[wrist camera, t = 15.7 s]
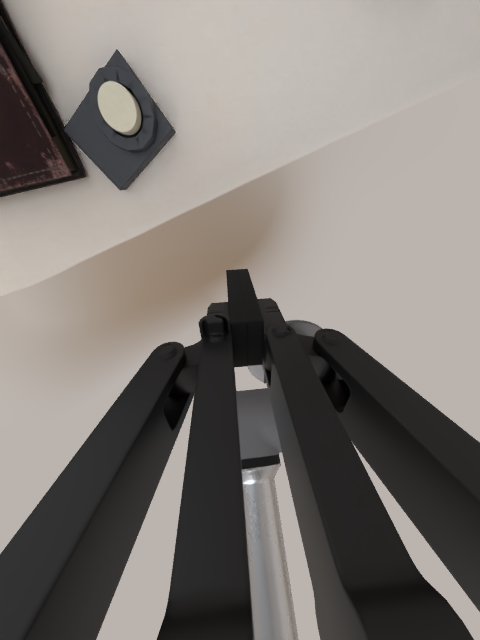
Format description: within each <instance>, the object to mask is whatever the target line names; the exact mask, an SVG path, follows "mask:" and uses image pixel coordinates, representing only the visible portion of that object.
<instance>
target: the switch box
mask: <svg viewBox="0 0 480 640" xmlns="http://www.w3.org/2000/svg"><path fill="white" fill-rule="evenodd" d="M108 81H114V82H117V83H119V84H121V85H122V86H123V87H125V88H126V89H127V90H128V91H129V93H130V94H131V95H132V96H133V97H134V98H135V100H136V101H137V103H138V105H139V108H140V111H141V118H142V120H141V126H140V128H139V130H138V131H137V132H136V133H135V134H133V135H125V134H122V133H120V132H118V131H117V130H115V129H113V128H112V127H111V126H110V125H109V124H108V123H107V122H106V121H105V119H104V118H103V116H102V114H101V112H100V109H99V105H98V91H99V89H100V87H101V86H102V84H104V83H105V82H108ZM64 131H65V132H66V133H67V135H68V136H69V137H70V138H71V139H72V140H73V141H74V142H75V143H76V144H77V145H78V146H79V147H80V148H81V149H82V150H83V151H84V153H85V154H86V155H87V156H88V157H89V158H90V159H91V160H92V161H93V162H94V163H95V164H96V165H97V166H98V167H99V168H100V169H101V171H102V172H103V173H104V174H105V175H106V176H107V177H108V178H109V179H110V180H111V181H112V182H113V183H114V184H115V185H116V186H117V187H118V189H119V190H126V189H127V188H128V187H129V186H130V185H131V183H132V182H133V181H134V180H135V179H136V178H137V176H138V175H139V174H140V173H141V172H142V171H143V170H144V168H145V167H146V166H147V165H148V164H149V163H150V161H151V160H152V159H153V158H154V157H155V156H156V154H157V153H158V152H159V151H160V150H161V149H162V148H163V146H164V145H165V144H166V143H167V142H168V141H169V139H170V138H171V137H172V136H173V135H174V134H175V130H174V129H173V128H172V126H171V125H170V123H169V122H168V120H167V119H166V118H165V116H164V115H163V113H162V112H161V110H160V109H159V108H158V106H157V105H156V103H155V102H154V100H153V99H152V98H151V96H150V95H149V93H148V92H147V90H146V89H145V88H144V86H143V85H142V83H141V82H140V80H139V79H138V78H137V76H136V75H135V73H134V72H133V70H132V69H131V68H130V66H129V65H128V63H127V62H126V60H125V59H124V58H123V56H122V55H121V54H120V52H119V51H118V50H116V51H115V53H114V54H113V56H112V57H111V59H110V60H109V62H108V63H107V65H106V66H105V67H104V68H99V69H98V71H97V72H96V74H95V75H94V77H93V79H92V80H91V82H90V86H89V92H88V93H87V95H86V96H85V98H84V100H83V101H82V103H81V104H80V106H79V107H78V109H77V110H76V112H75V113H74V115H73V116H72V118H71V119H70V121H69V122H68V124H67V125H66V127H65V128H64Z"/></svg>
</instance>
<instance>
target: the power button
mask: <svg viewBox="0 0 480 640" xmlns="http://www.w3.org/2000/svg"><path fill="white" fill-rule="evenodd" d="M98 105H99V109H100V112H101V114H102V116H103V118H104V119H105V121H106V122H107V123H108V124H109V125H110V126H111V127H112V128H113V129H115V130H117V131H118V132H120V133H122V134H125V135H133V134H135V133H136V132H137V131H138V130H139V128H140V126H141V120H142V118H141V111H140V108H139V105H138V103H137V101H136V100H135V98H134V97H133V96H132V95H131V94H130V93H129V91H128V90H127V89H126V88H125V87H123V86H122V85H121V84H119V83H117V82H114V81H108V82H105V83H104V84H102V86H101V87H100V89H99V91H98Z"/></svg>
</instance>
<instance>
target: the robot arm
mask: <svg viewBox="0 0 480 640" xmlns="http://www.w3.org/2000/svg"><path fill="white" fill-rule="evenodd" d="M226 272H227V287H228V302H223V303H212V304H211V305H210V306H209V307H208V313H207V316H205V317H203V318H202V319H200V321H199V327H200V333H201V337H202V339H201V341H199V342H198V343H196V344H194V345H191V346H188V347H185V348H184V346H183V345H182V344H180V343H178V342H168V343H165V344H162V345H160V346H158V347H157V348H156V349H155V350H154V351H153V352H152V353H151V355H150V356H149V358H148V359H147V360H146V361H145V363H144V364H143V365H142V367H141V368H140V369H139V371H138V372H137V374H136V375H135V376H134V377H133V379H132V380H131V381H130V383H129V384H128V385H127V387H126V388H125V389H124V391H123V392H122V393H121V394H120V396H119V397H118V398H117V400H116V401H115V402H114V404H113V405H112V406H111V408H110V409H109V410H108V412H107V413H106V415H105V416H104V417H103V418H102V420H101V421H100V422H99V424H98V425H97V427H96V428H95V429H94V430H93V432H92V433H91V434H90V436H89V437H88V438H87V440H86V441H85V442H84V444H83V445H82V447H81V448H80V449H79V450H78V452H77V453H76V454H75V456H74V457H73V458H72V460H71V461H70V462H69V464H68V465H67V466H66V468H65V469H64V471H63V472H62V473H61V474H60V476H59V477H58V478H57V480H56V481H55V482H54V484H53V485H52V486H51V488H50V489H49V490H48V492H47V493H46V495H45V496H44V497H43V499H42V500H41V501H40V502H39V504H38V505H37V507H36V508H35V509H34V510H33V512H32V513H31V514H30V516H29V517H28V518H27V520H26V521H25V522H24V524H23V525H22V526H21V528H20V529H19V530H18V532H17V533H16V534H15V535H14V537H13V538H12V539H11V541H10V542H9V544H8V545H7V546H6V547H5V549H4V550H3V552H2V553H1V554H0V640H96V638H97V636H98V633H99V631H100V628H101V626H102V623H103V621H104V618H105V615H106V613H107V611H108V608H109V606H110V603H111V601H112V598H113V596H114V593H115V591H116V588H117V586H118V583H119V581H120V578H121V576H122V573H123V571H124V568H125V566H126V563H127V561H128V558H129V556H130V553H131V551H132V548H133V546H134V544H135V541H136V539H137V536H138V534H139V531H140V529H141V526H142V524H143V521H144V519H145V516H146V514H147V511H148V508H149V506H150V504H151V501H152V499H153V496H154V494H155V491H156V489H157V486H158V484H159V481H160V479H161V476H162V473H163V471H164V469H165V466H166V464H167V461H168V459H169V456H170V454H171V451H172V449H173V446H174V444H175V441H176V438H177V436H178V434H179V431H180V428H181V426H182V424H183V421H184V419H185V416H186V414H187V411H188V409H189V406H190V404H191V401H192V399H193V396H194V403H193V411H192V419H191V426H190V435H189V442H188V450H187V459H186V466H185V474H184V482H183V490H182V499H181V506H180V514H179V522H178V529H177V537H176V545H175V554H174V561H173V569H172V577H171V586H170V592H169V599H168V604H167V609H166V613H165V617H164V620H163V623H162V626H161V629H160V631H159V635H158V637H157V640H298V634H297V627H296V621H295V614H294V607H293V601H292V594H291V587H290V581H289V574H288V567H287V561H286V555H285V547H284V541H283V534H282V528H281V521H280V514H279V507H278V501H277V495H276V488H275V481H274V478H275V474H276V473H277V471H278V469H279V467H280V466H281V464H280V458H279V453H280V452H282V453H283V457H284V462H285V467H286V471H287V475H288V480H289V484H290V488H291V493H292V497H293V502H294V506H295V510H296V515H297V519H298V524H299V528H300V533H301V537H302V542H303V546H304V550H305V555H306V559H307V563H308V568H309V572H310V577H311V581H312V586H313V591H314V598H315V610H316V618H317V624H318V630H319V635H320V639H321V640H474V639H473V638H472V636H471V634H470V633H469V631H468V629H467V628H466V626H465V625H464V623H463V621H462V620H461V619H460V618H459V616H458V615H457V614H456V612H455V611H454V610H453V608H452V607H451V606H450V604H449V603H448V602H447V600H446V599H445V598H444V597H443V596H442V595H441V594H440V593H438V591H436V590H435V589H434V588H433V587H432V586H431V585H430V584H429V583H428V582H427V581H426V580H425V579H424V578H423V577H422V575H421V574H420V572H419V571H418V569H417V568H416V566H415V565H414V563H413V561H412V559H411V558H410V556H409V554H408V552H407V550H406V548H405V546H404V544H403V542H402V540H401V538H400V536H399V534H398V533H397V530H396V528H395V526H394V524H393V522H392V520H391V518H390V516H389V515H388V512H387V511H386V509H385V507H384V505H383V503H382V501H381V499H380V497H379V495H378V493H377V491H376V489H375V487H374V485H373V483H372V481H371V480H370V477H369V476H368V473H367V471H366V469H365V467H364V465H363V463H362V461H361V460H360V457H359V456H358V453H357V452H356V450H355V448H354V446H353V444H354V445H355V446H356V448H357V449H358V450H359V452H360V453H361V454H362V456H363V457H364V458H365V460H366V461H367V462H368V464H369V465H370V466H371V468H372V469H373V470H374V472H375V473H376V474H377V476H378V477H379V478H380V480H381V481H382V482H383V484H384V485H385V486H386V488H387V489H388V490H389V492H390V493H391V494H392V496H393V497H394V498H395V500H396V501H397V502H398V504H399V505H400V506H401V508H402V509H403V510H404V512H405V513H406V514H407V516H408V517H409V518H410V520H411V521H412V522H413V523H414V525H415V526H416V528H417V529H418V530H419V532H420V533H421V534H422V536H423V537H424V538H425V540H426V541H427V542H428V543H429V545H430V546H431V548H432V549H433V550H434V552H435V553H436V554H437V555H438V557H439V558H440V560H441V561H442V562H443V563H444V565H445V566H446V567H447V569H448V570H449V572H450V573H451V574H452V575H453V577H454V578H455V579H456V581H457V582H458V584H459V585H460V586H461V587H462V589H463V590H464V591H465V593H466V594H467V595H468V597H469V598H470V599H471V601H472V602H473V603H474V605H475V606H476V607H477V609H478V610H479V611H480V443H479V442H478V441H477V440H476V439H474V438H473V437H472V436H470V435H469V434H468V433H467V432H466V431H464V430H463V429H462V428H461V427H459V426H458V425H457V424H456V423H454V422H453V421H452V420H450V419H449V418H448V417H447V416H445V415H444V414H443V413H442V412H440V411H439V410H438V409H437V408H435V407H434V406H433V405H432V404H430V403H429V402H428V401H427V400H425V399H424V398H423V397H422V396H420V395H419V394H418V393H417V392H415V391H414V390H413V389H412V388H410V387H409V386H408V385H407V384H405V383H404V382H403V381H401V380H400V379H399V378H398V377H397V376H395V375H394V374H393V373H391V372H390V371H389V370H388V369H387V368H385V367H384V366H383V365H382V364H380V363H379V362H378V361H376V360H375V359H374V358H373V357H371V356H370V355H369V354H368V353H366V352H365V351H364V350H363V349H361V348H360V347H359V346H358V345H356V344H355V343H354V342H353V341H351V340H350V339H349V338H348V337H346V336H345V335H344V334H342V333H341V332H339V331H336V330H333V329H320V330H318V331H316V333H315V334H314V337H313V336H305V335H300V334H297V333H296V332H295V330H294V329H293V328H292V327H291V326H289V325H286V322H285V320H284V318H283V316H282V314H281V312H280V310H279V308H278V306H277V304H276V302H275V301H274V300H272V299H271V298H268V299H257V297H256V294H255V291H254V288H253V285H252V282H251V279H250V275H249V272H248V270H247V269H239V270H227V271H226ZM254 365H262V368H263V370H264V383H267V387H268V388H265V389H255V390H245V391H236V386H235V372H234V367H243V366H254ZM194 393H195V395H194ZM351 441H352V442H351ZM352 443H353V444H352Z"/></svg>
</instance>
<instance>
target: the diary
mask: <svg viewBox="0 0 480 640" xmlns="http://www.w3.org/2000/svg"><path fill="white" fill-rule="evenodd" d="M41 82H43V81H42V80H41V78H40V77H39V75H38V74H37V72H36V71H35V69H34V67H33V66H32V64H31V62H30V60H29V58H28V56H27V54H26V52H25V50H24V48H23V46H22V44H21V42H20V40H19V38H18V36H17V34H16V31H15V29H14V27H13V25H12V23H11V21H10V19H9V16H8V14H7V12H6V10H5V8H4V6H3V4H2V2H1V0H0V197H3V196H7V195H12V194H16V193H20V192H25V191H29V190H33V189H38V188H42V187H46V186H51V185H55V184H59V183H63V182H68V181H72V180H76V179H80V178H84V177H86V173H85V170H84V168H83V166H82V163H81V161H80V159H79V157H78V155H77V153H76V151H75V149H74V147H73V145H72V143H71V141H70V139H69V137H68V135H67V133H66V132H65V131H64V126H63V124H62V122H61V120H60V118H59V116H58V114H57V112H56V110H55V108H54V106H53V104H52V102H51V100H50V98H49V96H48V95H47V93H46V91H45V89H44V87H43V85H42V83H41Z"/></svg>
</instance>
